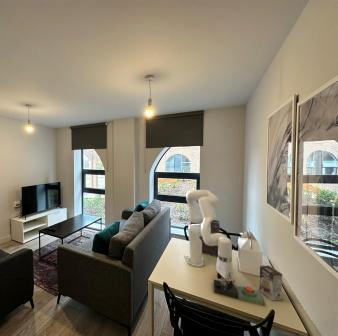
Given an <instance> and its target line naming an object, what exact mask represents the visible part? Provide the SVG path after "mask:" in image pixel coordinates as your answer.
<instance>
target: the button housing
mask: <svg viewBox="0 0 338 336" xmlns="http://www.w3.org/2000/svg"><path fill="white" fill-rule="evenodd" d="M245 287H246V286H240V285H235V289H236V292H237V299H238V300H239V301H244V302H248V303H251V304H252V303H253V304H256V305H260V306H264V302H265V301H264V299H263V297H262V295H261V293H260V292H261V291H260V290H257V289H254V288H253V293H249V292H247V291H245Z"/></svg>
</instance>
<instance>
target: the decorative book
mask: <svg viewBox="0 0 338 336" xmlns="http://www.w3.org/2000/svg"><path fill="white" fill-rule="evenodd" d="M189 221H190V220H189ZM192 224H202V222H199V223H193V222H191V221H190V223H189V226H190V225H192ZM210 225H211V233H210V234H214V233H220V231H221V229H220V228H221V227H220V226H221V222H220V220H219V219H215V220H213V221H211V222H210ZM199 238H200V240H201V241H202V254H203V255H209V256H211V257H217V258H218V245H215V246H208V245H206V244H205V242H204V240H203V237H202V236H200V237H199Z"/></svg>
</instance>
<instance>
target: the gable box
mask: <svg viewBox="0 0 338 336" xmlns="http://www.w3.org/2000/svg"><path fill="white" fill-rule="evenodd" d="M237 260H238V268H239V272H241V273H245V274H248V275H249V274H250V275H254V276H257V277H260V266H263V251H262V248H261V246H260V243H259V241H258V239H257V238H256V237H255V236H254V234H253V233H252V231H250V228H249V227H248V228H247V229H245V231H244V233H243V234H241V235H240V236H239V237H238V239H237Z"/></svg>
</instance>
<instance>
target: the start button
mask: <svg viewBox="0 0 338 336" xmlns="http://www.w3.org/2000/svg"><path fill="white" fill-rule="evenodd" d="M244 287H245V291H247V292H249V293H253V289H254V288H253V287H251V286H250V285H246V286H244Z"/></svg>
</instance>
